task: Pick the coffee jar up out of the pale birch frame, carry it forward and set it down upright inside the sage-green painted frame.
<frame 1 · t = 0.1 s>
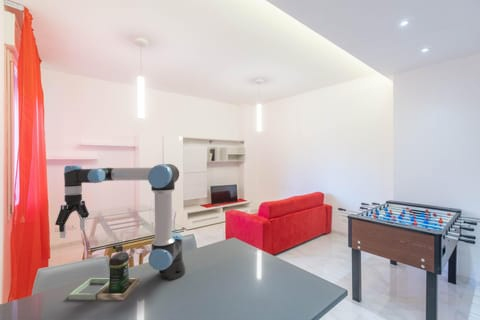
hand: (73, 233, 121), 28 cm above the table, fingers open, 13 cm apart
coffee jar: (119, 291, 115), resting in birch frame
green frame: (92, 290, 116), on the table
birch frame: (119, 290, 115), on the table
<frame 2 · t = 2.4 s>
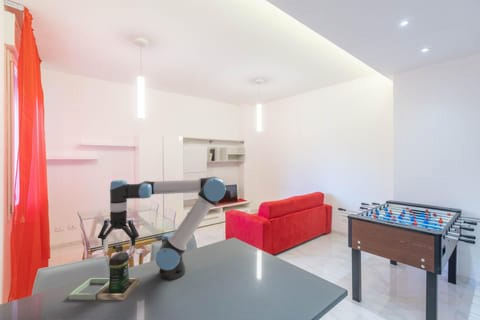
hand: (118, 251, 115), 20 cm above the table, fingers open, 13 cm apart
nothing on the table moved.
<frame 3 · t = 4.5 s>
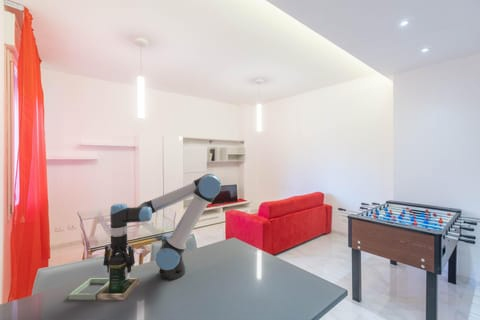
hand: (119, 278, 115), 6 cm above the table, fingers closed on coffee jar, 8 cm apart
coffee jar: (119, 291, 115), resting in birch frame, touching gripper
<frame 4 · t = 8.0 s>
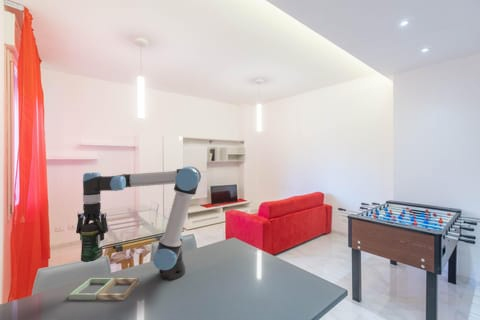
hand: (92, 246, 116), 23 cm above the table, fingers closed on coffee jar, 8 cm apart
coffee jar: (92, 259, 116), point 16 cm above the table, touching gripper
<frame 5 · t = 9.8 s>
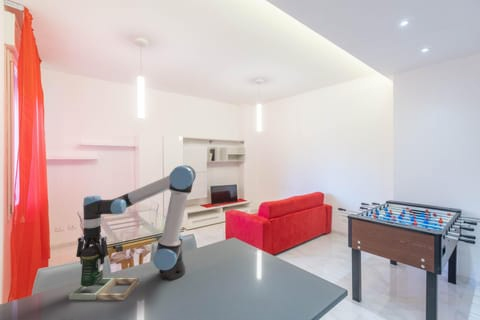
hand: (92, 270, 116), 10 cm above the table, fingers closed on coffee jar, 8 cm apart
coffee jar: (92, 282, 116), point 4 cm above the table, touching gripper
when the fingers open (8 cm above the table, at t = 11.4 s): coffee jar drops 1 cm, resting in green frame.
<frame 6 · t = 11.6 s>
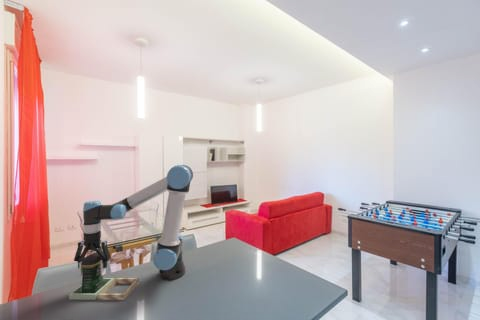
hand: (92, 274, 116), 8 cm above the table, fingers open, 10 cm apart
coffee jar: (93, 290, 116), resting in green frame
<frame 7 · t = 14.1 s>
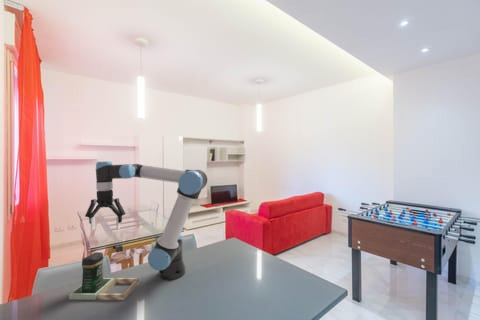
hand: (105, 229, 121), 30 cm above the table, fingers open, 13 cm apart
nothing on the table moved.
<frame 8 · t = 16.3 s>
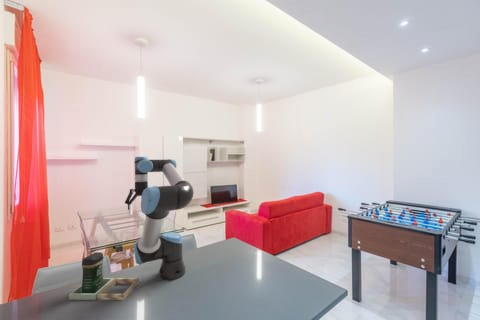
hand: (141, 214, 141), 33 cm above the table, fingers open, 13 cm apart
nothing on the table moved.
at the end: coffee jar inside the target area on the green frame (0.2 cm from its centre), point 0.0 cm above the green frame's base; coffee jar tilted 0°; the gripper is holding nothing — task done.
